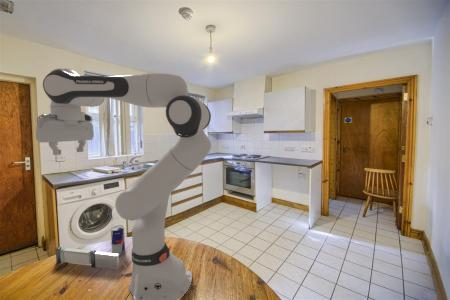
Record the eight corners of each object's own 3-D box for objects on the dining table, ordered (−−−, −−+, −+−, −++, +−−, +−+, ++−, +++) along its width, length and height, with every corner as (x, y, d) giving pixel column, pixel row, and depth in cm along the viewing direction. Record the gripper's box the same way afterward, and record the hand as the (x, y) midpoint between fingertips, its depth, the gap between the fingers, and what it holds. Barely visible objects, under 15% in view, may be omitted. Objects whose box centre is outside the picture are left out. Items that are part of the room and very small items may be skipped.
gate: (92, 262, 86) (91, 250, 86) (88, 265, 84) (88, 253, 84) (64, 259, 88) (63, 247, 88) (60, 262, 86) (60, 250, 86)
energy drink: (119, 256, 91) (118, 231, 90) (109, 255, 92) (107, 230, 91) (127, 249, 96) (126, 225, 95) (117, 248, 98) (116, 224, 96)
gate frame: (120, 267, 84) (119, 252, 84) (116, 270, 83) (116, 255, 82) (59, 260, 89) (58, 246, 88) (55, 263, 87) (54, 249, 86)
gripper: (45, 113, 64) (48, 157, 65) (95, 117, 84) (97, 150, 85) (28, 113, 65) (32, 156, 66) (82, 117, 85) (84, 150, 86)
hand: (69, 153), depth 76 cm, fingers open, 8 cm apart
